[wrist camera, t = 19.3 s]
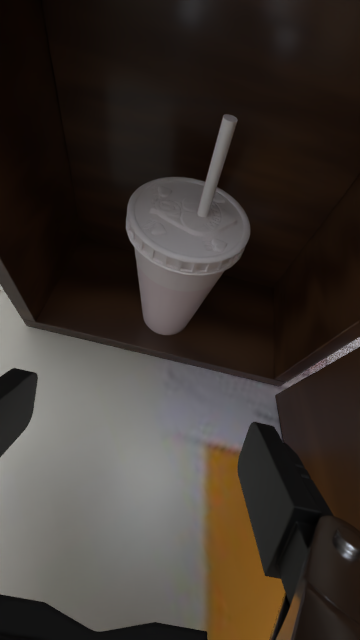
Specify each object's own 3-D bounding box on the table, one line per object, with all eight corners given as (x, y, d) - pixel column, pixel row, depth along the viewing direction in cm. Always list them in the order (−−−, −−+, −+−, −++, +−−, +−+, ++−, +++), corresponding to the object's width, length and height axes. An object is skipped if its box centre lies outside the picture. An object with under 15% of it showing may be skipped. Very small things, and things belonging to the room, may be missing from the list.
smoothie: (204, 356, 20) (314, 184, 9) (118, 345, 20) (109, 140, 8) (205, 289, 24) (285, 97, 12) (131, 277, 23) (139, 61, 11)
